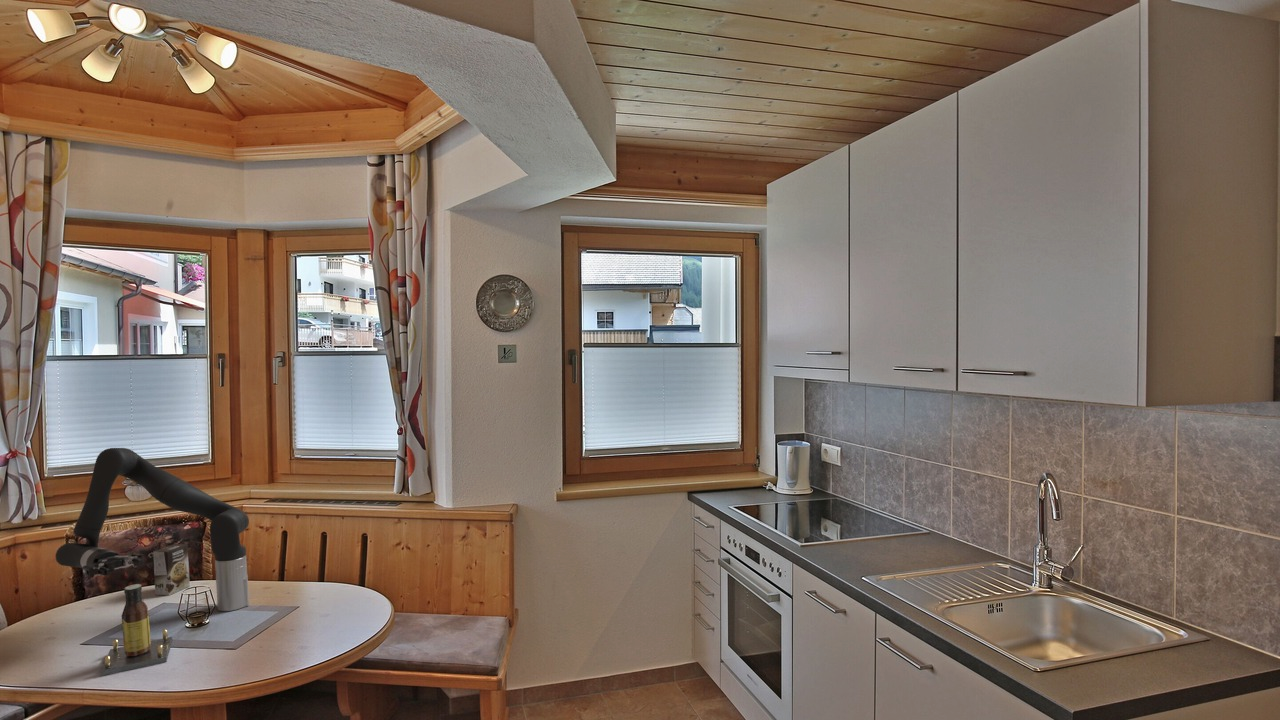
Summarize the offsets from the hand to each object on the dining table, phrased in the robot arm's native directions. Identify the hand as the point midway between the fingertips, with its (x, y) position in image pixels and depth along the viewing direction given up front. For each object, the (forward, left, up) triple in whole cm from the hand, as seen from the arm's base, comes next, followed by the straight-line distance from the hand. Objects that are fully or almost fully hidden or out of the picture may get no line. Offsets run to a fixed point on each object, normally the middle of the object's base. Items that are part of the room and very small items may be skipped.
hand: (124, 567), depth 206 cm
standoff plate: (-4, +14, -23) cm, 27 cm away
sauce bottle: (-4, +13, -22) cm, 26 cm away
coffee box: (-7, -45, -24) cm, 52 cm away
